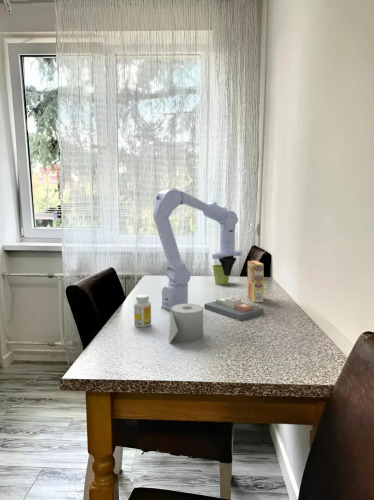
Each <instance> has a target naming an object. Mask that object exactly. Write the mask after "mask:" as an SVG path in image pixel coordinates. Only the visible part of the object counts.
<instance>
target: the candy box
mask: <svg viewBox="0 0 374 500" xmlns="http://www.w3.org/2000/svg"><path fill="white" fill-rule="evenodd" d="M264 268H265V267H264V263H262V262H260V261H258V260H248V261H247V297H248V299H250V300H251V301H252V302H253V303H263V302H264V271H265V270H264Z"/></svg>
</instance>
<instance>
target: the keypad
mask: <svg viewBox="0 0 374 500" xmlns="http://www.w3.org/2000/svg"><path fill="white" fill-rule="evenodd" d="M241 304H247V305H251V306H252V310H251V311H247V312H242V311H239V310H236V308H235V309H233V308H229V307H226V305H224V306H223V305H219V304H216V300H215V301H212V302H206V303H204V306H203V310H204V309H205V310H206V311H211V312H212V313H213V312H214V313H217V314H220V315H223V316H226V317H228V318H231V319H235V320H236V321H237V320H238V321H244V320H247V319H250V318H254V317H257V316H260V315H264V310H265V309H264V308H263V307H260V306H256V305H253V304H249V303H245V302H242V301H241Z"/></svg>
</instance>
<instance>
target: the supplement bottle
mask: <svg viewBox="0 0 374 500" xmlns="http://www.w3.org/2000/svg"><path fill="white" fill-rule="evenodd" d="M149 299H150V296H149V295H148V294H145V293H144V294H143V293H142V294H137V295H136V297H135V300H136V301H135V302H134V305H133V310H134V311H133V313H134V315H133V317H134V326H135V327H139V328H146V327H149V326H151V324H152V304H151V302H150V301H149Z"/></svg>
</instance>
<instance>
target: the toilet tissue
mask: <svg viewBox="0 0 374 500" xmlns="http://www.w3.org/2000/svg"><path fill="white" fill-rule="evenodd" d="M169 316H170V317H169V318H170V319H169V330H168V343H169V344H170V343H171V342H172V341H173V340H174V341H177V342H183V343H187V342H189V343H190V342H196V341H200V340H202V339H203V337H204V306H201V305H200V304H196V303H188V304H178V305H174V306H173V307H172V308H171V311H170V315H169Z"/></svg>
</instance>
